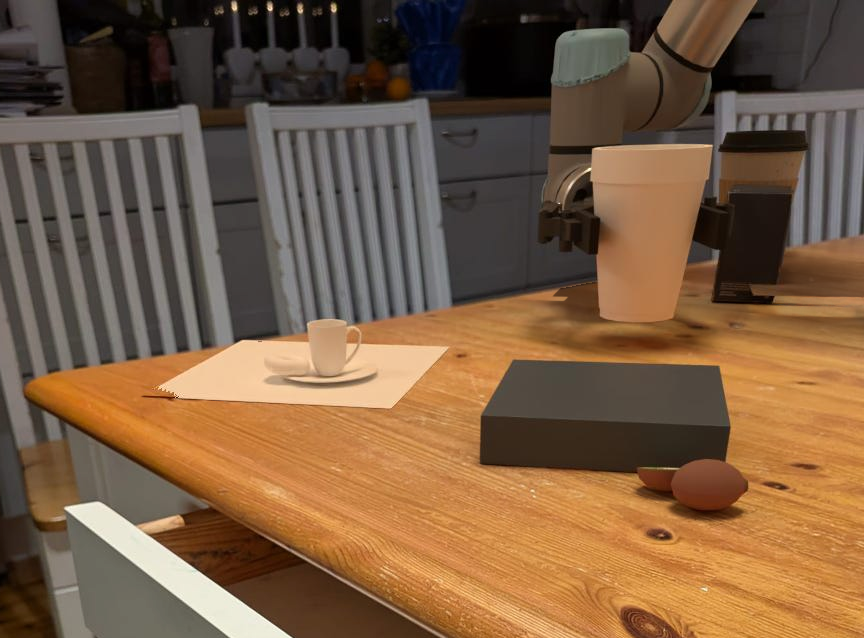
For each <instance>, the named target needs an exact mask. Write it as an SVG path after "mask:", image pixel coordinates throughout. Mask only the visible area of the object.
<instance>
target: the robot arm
mask: <svg viewBox="0 0 864 638" xmlns="http://www.w3.org/2000/svg"><path fill="white" fill-rule="evenodd" d="M757 2H758V0H672V1H671V3H670V4H669V6H668V8H667V10H666V11H665V13H664V14H663V17H662V19H661V20H660V22H659V23H658V25H657V26H656V29H654V32H653V33H652V35H651V36H650V38H649V40H648V41H647V43H646V44H645V46H644V48H643V50H642V51H641V52H640V51H639V52H633V51H631V50H630V34H629V33H628V32H627V31H626V30H625V29H623V28H619V27H618V28H617V27H616V28H611V27H609V28H586V29H576V30H575V29H573V30H569V31H565V32H563V33H562V34H561V35H560V36H558V37H557V39H556V41H555V46H554V57H553V67H552V74H551V77H550V84H551V96H550V97H551V98H550V99H551V101H550V125H549V126H550V130H549V131H550V132H549V153H548V161H547V178H546V179H545V182H544V183H543V186H542V190H541V199H540V201H541V206H540V207H541V208H540V210H539V211H538V212H537V213H538V214H537V236H536V242H537V243H538V244H542V245H547V244H548V243H551V242H552V241H553V240H554V239H555V237H558V253H572V252H573V246H574V247H576V248H577V249H579V250H581V251H582V252H584V253H585V254H587V255H589V256H592V255H593V256H594V255H596V254H598V245H599V231H600V217H598V216H596V215H594V197H593V182H592V181H590V178H591V162H592V149H594V148H599V147H610V146H623V145H622V144H623V143H622V142H623V133H634V132H649V131H652V132H666V131H669V130H674V129H677V128H682V127H685V126H687V125H689V124H691V123H692V122H694V121H695V120H696V119H697V118H699V117H700V115H702V113H703V111H704V110H705V108H706V107H707V104H708V103H709V98H710V94H711V89H712V82H713V81H712V75H711V74H712V73H711V72H712V71H713V69H714V67H715V66H716V64H717V63H718V61H719V60H720V58H721V57H722V55H723V53H724V52H725V50H726V49H727V47H728V46H729V44H730V43H731V41H732V40H733V38H734V37H735V36H736V34H737V32H738V31H739V29H740V28H741V26H742V25H743V24H744V21H745V20H746V19H747V18H748V15H749V14H750V12H751V11H752V9H753V8H754V7H755V5H756V3H757ZM703 199H704V200H701V203H700V208H699V212H698V216H697V220H696V224H695V229H694V233H693V237H692V241H693V242H695V243H698V244H700V245H703V246H704V247H707V248H710V249H711V250H714V251H719V250H725V246H726V239H727V237H729V236H731V229H732V222H733V214H734V206H735V205H733V204H731V203H725V204H723V203H719V202H718V196H707V197H704V198H703Z"/></svg>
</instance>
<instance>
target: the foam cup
mask: <svg viewBox="0 0 864 638" xmlns="http://www.w3.org/2000/svg"><path fill="white" fill-rule="evenodd" d="M713 146H714V144H705V143H704V144H701V143H700V144H698V143H688V144H687V143H670V144H669V143H666V144H664V143H663V144H661V143H660V144H631V145H630V144H629V145H621V146H610V147H599V148H594V149H592V162H591V178H590V181H592V182H593V197H594V215H596V216H598V217H600V231H599V245H598V254H596V273H597V275H596V277H597V294H598V296H597V297H598V309H599V317H601V318H602V319H605V320H609V321H616V322H623V323H624V322H626V323H654V322H661V321H663V322H664V321H667V320H671V319H673V318H674V316H675V310H676V309H677V305H678V300H679V296H680V292H681V288H682V283H683V279H684V275H685V271H686V266H687V263H688V258H689V254H690V250H691V245H692V241H693V240H692V237H693V233H694V229H695V224H696V220H697V216H698V212H699V208H700V203H701V201H702V199H703V194H704V190H705V186H706V182H707V180H710V171H711V163H712V155H713Z"/></svg>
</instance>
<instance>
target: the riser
mask: <svg viewBox="0 0 864 638" xmlns="http://www.w3.org/2000/svg"><path fill="white" fill-rule="evenodd" d="M479 424H480V430H479V464H480V465H481V464H482V465H496V466H497V465H500V466H517V467H533V468H534V467H535V468H536V467H537V468H552V469H553V468H554V469H568V470H569V469H571V470H573V469H574V470H588V471H589V470H591V471H604V472H605V471H608V472H625V473H638V472H637V468H638V467H667V468H681V467H682V466H683V465H686V464H688V463H690V462H693V461H697V460H703V459H712V460H720V461H723V462H725V463H727V454H728V448H729V442H730V435H731V428H732V425H731V421H730V415H729V409H728V405H727V399H726V394H725V388H724V383H723V378H722V372H721V368H720V365H716V364H715V365H714V364H713V365H712V364H681V363H676V364H675V363H649V362H648V363H647V362H646V363H645V362H614V361H613V362H612V361H579V360H578V361H577V360H574V361H573V360H546V359H545V360H544V359H543V360H542V359H514V358H513V359H512V361H511V362H510V365H509V366H508V367H507V370H506V371H505V373H504V375H503V376H502V378H501V379H500V382H499V383H498V384H497V387H496V388H495V390H494V392H493V394H492V395H491V397H490V399H489V400H488V401H487V404H486V405H485V407H484V409H483V411H482V412H481V414H480V423H479Z"/></svg>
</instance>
